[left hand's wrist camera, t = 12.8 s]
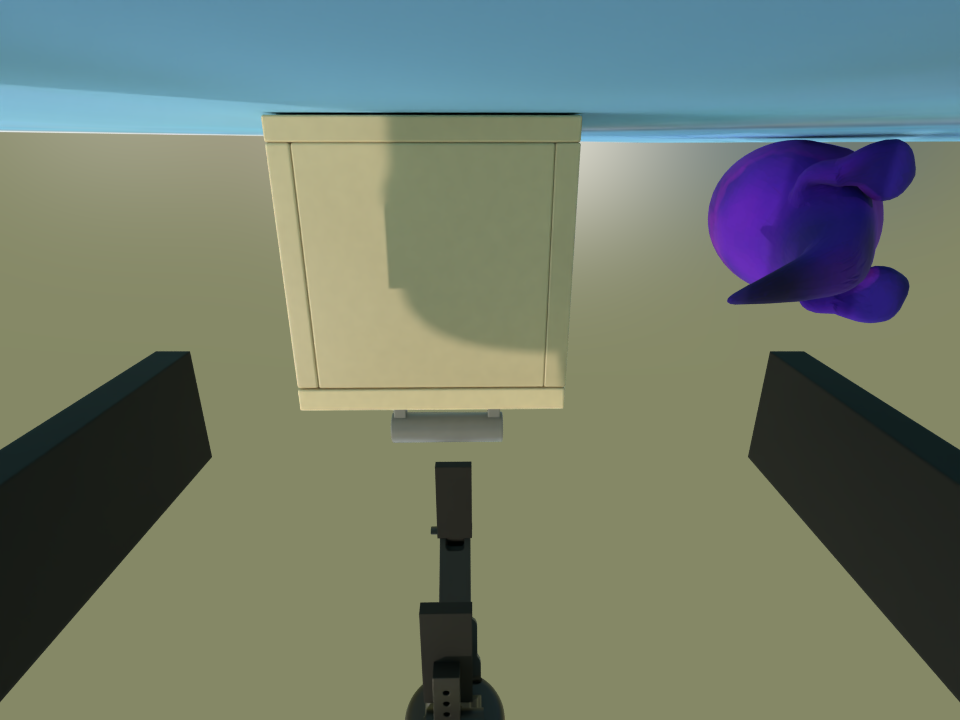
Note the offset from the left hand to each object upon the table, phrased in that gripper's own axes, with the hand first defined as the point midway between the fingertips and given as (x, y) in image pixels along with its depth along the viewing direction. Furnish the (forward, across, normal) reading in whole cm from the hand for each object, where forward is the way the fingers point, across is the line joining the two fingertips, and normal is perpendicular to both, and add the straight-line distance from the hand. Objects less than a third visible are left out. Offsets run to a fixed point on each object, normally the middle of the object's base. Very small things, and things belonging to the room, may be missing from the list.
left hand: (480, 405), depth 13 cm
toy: (+43, -31, -6) cm, 53 cm away
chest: (+13, +2, -6) cm, 14 cm away
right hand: (+17, +2, +17) cm, 24 cm away
